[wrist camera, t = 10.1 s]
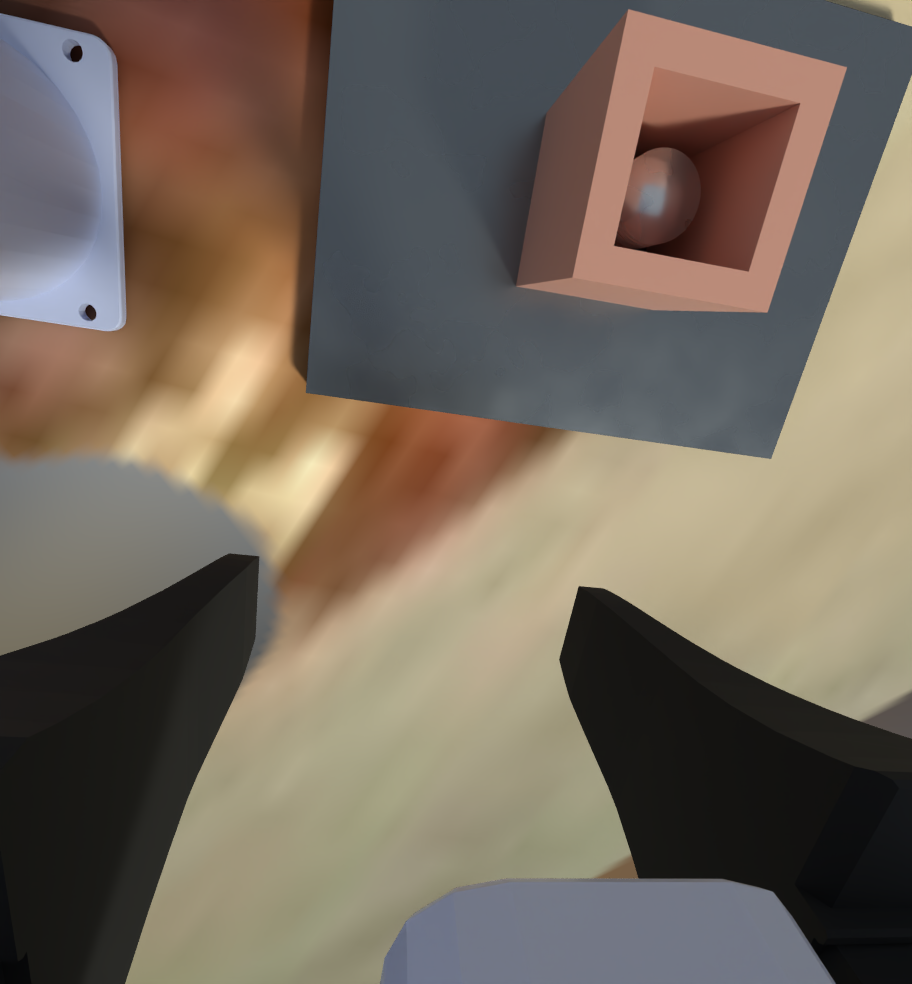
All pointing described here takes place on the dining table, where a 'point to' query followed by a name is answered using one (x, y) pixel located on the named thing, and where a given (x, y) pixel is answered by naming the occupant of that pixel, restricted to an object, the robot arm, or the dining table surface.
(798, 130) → the collar
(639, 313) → the stand
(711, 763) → the robot arm
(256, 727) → the dining table surface
